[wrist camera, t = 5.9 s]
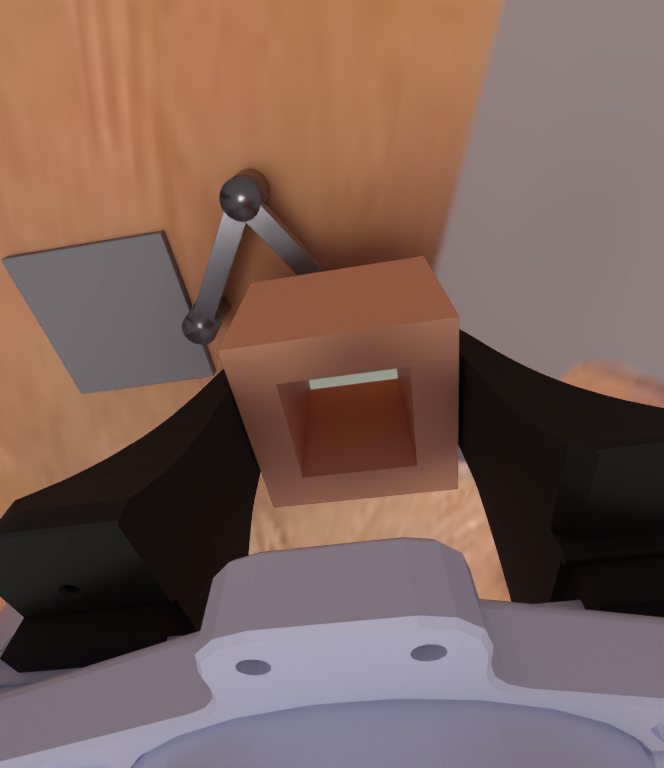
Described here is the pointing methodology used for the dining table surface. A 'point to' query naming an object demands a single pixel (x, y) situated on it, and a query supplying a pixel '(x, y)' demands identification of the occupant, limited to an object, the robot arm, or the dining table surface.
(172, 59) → the dining table surface
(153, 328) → the mat
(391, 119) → the dining table surface
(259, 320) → the tan square ring block
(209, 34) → the dining table surface
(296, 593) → the robot arm
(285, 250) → the grey v-shaped linkage
